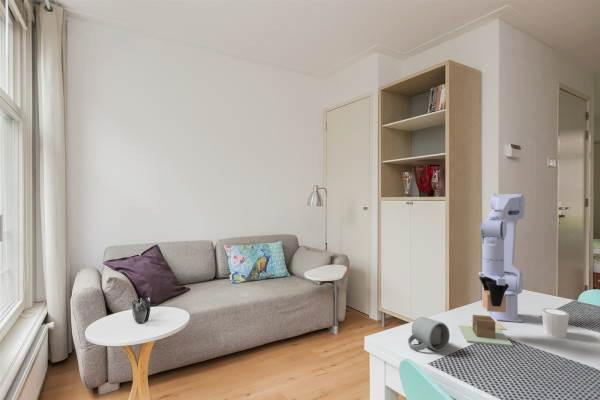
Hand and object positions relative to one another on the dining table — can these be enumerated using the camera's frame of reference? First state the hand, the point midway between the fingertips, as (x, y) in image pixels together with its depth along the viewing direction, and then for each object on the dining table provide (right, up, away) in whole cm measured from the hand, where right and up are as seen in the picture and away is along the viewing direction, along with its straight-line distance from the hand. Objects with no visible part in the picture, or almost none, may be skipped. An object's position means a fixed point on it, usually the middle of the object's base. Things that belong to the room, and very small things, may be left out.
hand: (493, 303), depth 102 cm
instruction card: (+3, -10, +8) cm, 14 cm away
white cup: (+20, -10, +1) cm, 23 cm away
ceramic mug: (-23, -10, -7) cm, 26 cm away
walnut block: (-3, -10, 0) cm, 10 cm away
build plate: (-3, -10, 0) cm, 10 cm away
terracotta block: (0, -2, 0) cm, 2 cm away
